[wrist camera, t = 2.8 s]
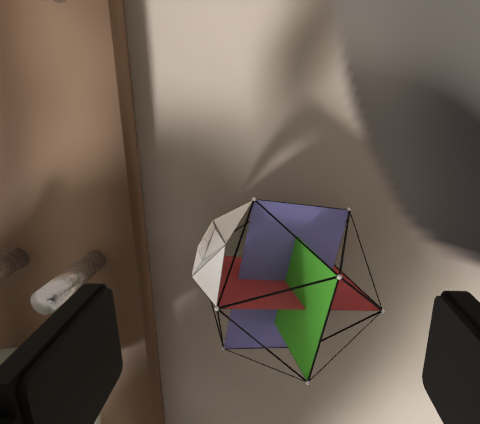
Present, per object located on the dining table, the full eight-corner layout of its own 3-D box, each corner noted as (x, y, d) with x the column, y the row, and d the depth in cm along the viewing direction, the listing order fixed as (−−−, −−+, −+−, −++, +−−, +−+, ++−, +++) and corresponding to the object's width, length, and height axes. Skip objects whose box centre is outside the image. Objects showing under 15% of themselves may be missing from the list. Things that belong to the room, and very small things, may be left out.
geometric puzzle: (430, 223, 14) (339, 261, 8) (380, 360, 16) (278, 468, 10) (289, 176, 19) (165, 180, 13) (263, 289, 20) (145, 336, 15)
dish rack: (120, -30, 15) (102, -45, 13) (166, 438, 22) (158, 461, 20) (-132, -13, 16) (-173, -25, 15) (-13, 423, 23) (-33, 444, 21)
